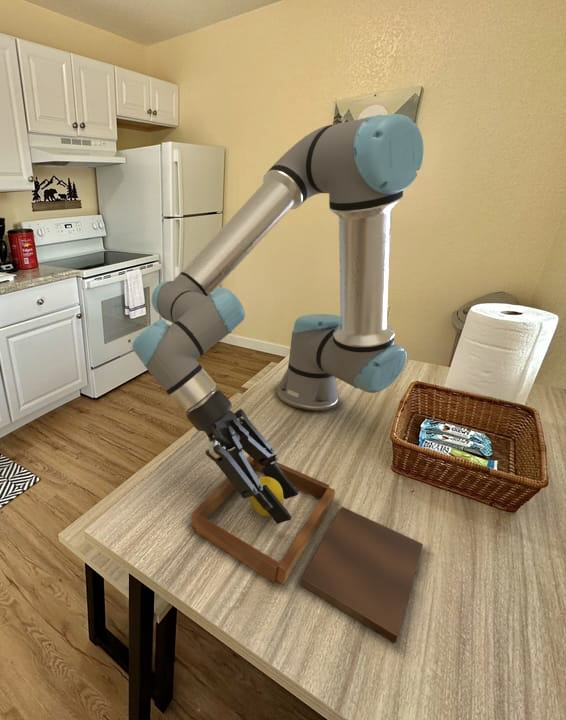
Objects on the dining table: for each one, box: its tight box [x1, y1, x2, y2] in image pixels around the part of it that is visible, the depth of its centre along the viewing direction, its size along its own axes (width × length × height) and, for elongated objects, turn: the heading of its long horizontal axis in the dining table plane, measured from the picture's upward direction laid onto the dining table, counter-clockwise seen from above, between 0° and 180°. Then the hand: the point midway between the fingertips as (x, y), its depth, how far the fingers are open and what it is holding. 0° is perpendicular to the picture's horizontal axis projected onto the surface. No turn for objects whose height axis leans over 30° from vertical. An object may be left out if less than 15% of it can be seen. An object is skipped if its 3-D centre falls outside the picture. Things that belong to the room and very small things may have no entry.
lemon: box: [249, 476, 285, 517], centre depth 66 cm, size 6×6×8 cm
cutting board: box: [300, 506, 424, 644], centre depth 58 cm, size 18×12×2 cm, turn 138°
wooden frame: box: [191, 455, 336, 586], centre depth 67 cm, size 22×16×3 cm
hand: (288, 507), depth 65 cm, fingers closed on lemon, 5 cm apart
